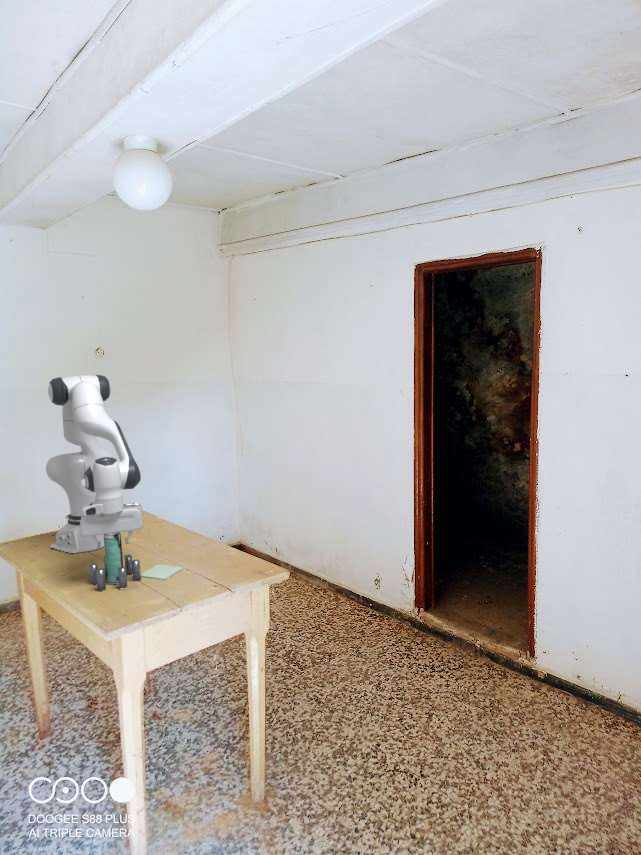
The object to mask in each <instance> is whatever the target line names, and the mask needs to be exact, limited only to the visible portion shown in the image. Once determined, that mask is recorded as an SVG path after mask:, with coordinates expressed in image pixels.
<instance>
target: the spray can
mask: <svg viewBox="0 0 641 855" xmlns="http://www.w3.org/2000/svg"><path fill="white" fill-rule="evenodd" d="M121 535H122V534H121V532H118V533H109V534H104V557H106V569H107V578H106V580H107V584H108V585H109V584H111V585H110V586H114V585H113V584H118V585H119V577H118V568H119V567H124V559H123V558H124V556H123V546H122V536H121Z"/></svg>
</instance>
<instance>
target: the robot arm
mask: <svg viewBox="0 0 641 855" xmlns="http://www.w3.org/2000/svg"><path fill="white" fill-rule="evenodd" d="M111 389H112V387H111V383H110V381H109V379H108V377H106V376H105V375H100V374H95V375H93V374H92V375H90V374H79V375H71V376H65V377H61V376H59V377H55V378H52V379H51V380H50V381H49V385H48V387H47V394H48V397H49V399H50V402H51V403H53V404H54V405H56V406H61V407H62V410H61V411H62V412H61V413H62V428H63V437H64V439H65V440H66V441H67V442H68V443H70V444H72V445H75V446H79V447H80V451H79V452H68V453H62V454H58V455H55V456H52V457H50V458H48V461H47V462H46V465H45V472H46V476H47V477H48V479H50V480H51V481H52V482H54V483H55V484H57V485H58V486H60V487H61V488H62V489H63V490H64V492H65V493H66V495H67V498H68V499H67V500H68V504H69V505H68V506H69V511H70V513H69V514H68V515H65V519H68V520H67V522H66V523H65V525H63V527H61V528H60V529H59V530H58V531H57V532H56V535H55V542H53V543H52V544H50V546H49V548H50V547H51V548H54V549H53V550H55V549H57V550H56V551H59V550H61V551H60V552H63V551H64V552H63V553H66V552H68V553H67V554H70V553H74V554H79V553H84V552H91V551H96V550H99V549H102V548H105V546H104V534H109V533H118V532H120V533H124V532H127V534H128V536H127V537H125V538H124V540H125V541H124V542H125V545H129V544H131V540H130V539H131V537H132V536H133V531H141V530H142V529H143V526H144V525H143V519H142V514H143V511H144V510H143V506H142V505H141V504H140V503H137V502H133V503H125V504H124V494H123V491H122V490H133V489H135V488H136V486H138V485H139V483H140V482H141V470H140V468H139V466H138V464H137V462H136V459H135V457H133V454H132V452H131V448H130V447H129V444H128V442H127V440H126V437H125V435H124V433H123V431H122V428H121V426H120V425H119V423H118V421H116V420H113V419H112V418H111V417H110V416H109V414H108V413H107V412H106V408H105V403H104V402H105V401H107V400H108V399H109V398H110V395H111V392H112V390H111ZM97 438H101V439H105V440H107V441H109V442H110V443H111V444H112V445H113V447H114V449H115V452H116V454H117V458H118V459H119V460H118V459H117V458H115V457H114V456H113V455H112V453H111V452H110V451H109V450H107V449H105V448H104V447H103V446H102V445H100V444H101V443H99V442H98V440H97ZM82 480H85V485H83V484H82ZM51 548H50V549H51Z"/></svg>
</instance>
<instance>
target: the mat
mask: <svg viewBox="0 0 641 855" xmlns="http://www.w3.org/2000/svg"><path fill="white" fill-rule="evenodd" d="M182 570H184V567H181V566H175V565H174V566H173V565H166V564H165V565H164V564H157V565H154V566H153V567H151V568H150V569H148V570H145V571H144V572H143V573H141V578H146V579H153V578H154V580H160V579H161V580H162V581H166V580H168V579H169V578H171V577H173V576H174V575H176V574H177V573H179V572H181V571H182ZM172 575H173V576H172ZM167 578H168V579H167ZM161 580H160V581H161Z"/></svg>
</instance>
